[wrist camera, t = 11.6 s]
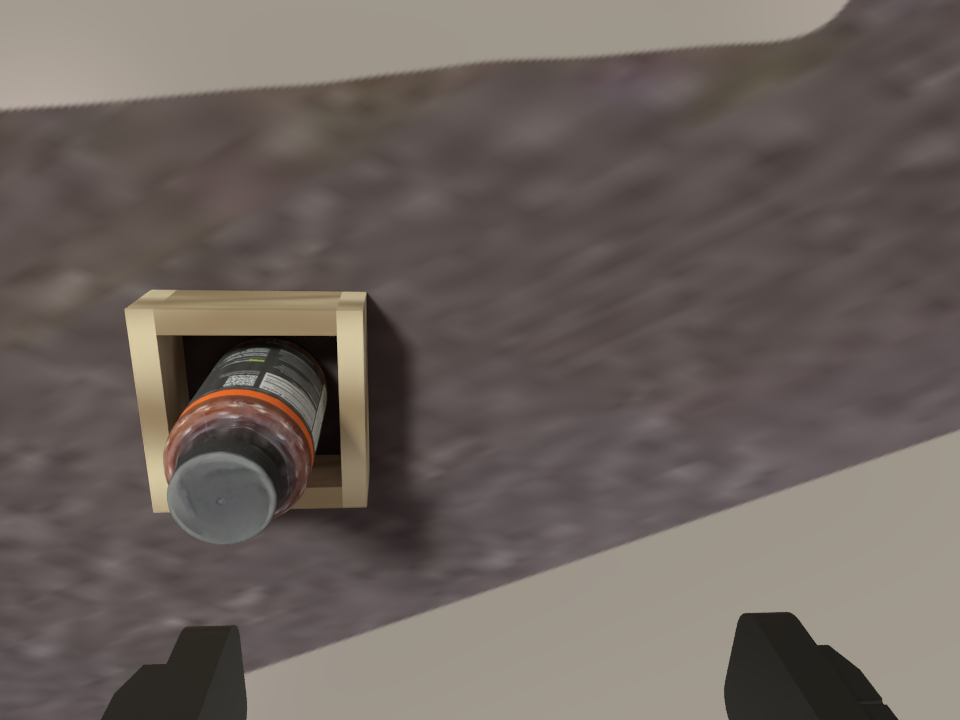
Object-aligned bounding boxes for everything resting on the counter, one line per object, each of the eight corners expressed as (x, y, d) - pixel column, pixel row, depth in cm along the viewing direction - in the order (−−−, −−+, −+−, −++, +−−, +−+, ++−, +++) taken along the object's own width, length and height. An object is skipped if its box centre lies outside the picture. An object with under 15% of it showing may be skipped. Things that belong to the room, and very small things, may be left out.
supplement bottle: (258, 457, 37) (201, 594, 27) (189, 369, 35) (98, 481, 25) (352, 403, 37) (332, 522, 26) (287, 312, 35) (238, 401, 24)
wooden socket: (151, 289, 34) (124, 309, 30) (366, 291, 35) (362, 310, 32) (175, 477, 37) (153, 512, 34) (369, 473, 38) (366, 507, 35)
